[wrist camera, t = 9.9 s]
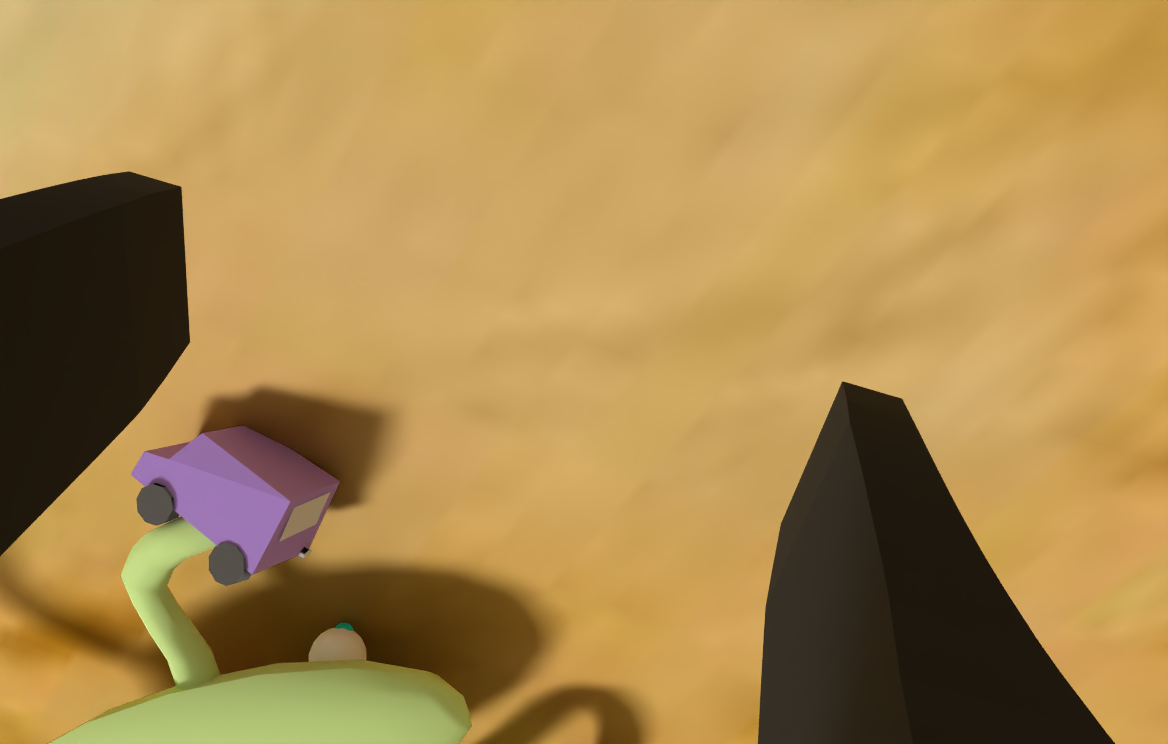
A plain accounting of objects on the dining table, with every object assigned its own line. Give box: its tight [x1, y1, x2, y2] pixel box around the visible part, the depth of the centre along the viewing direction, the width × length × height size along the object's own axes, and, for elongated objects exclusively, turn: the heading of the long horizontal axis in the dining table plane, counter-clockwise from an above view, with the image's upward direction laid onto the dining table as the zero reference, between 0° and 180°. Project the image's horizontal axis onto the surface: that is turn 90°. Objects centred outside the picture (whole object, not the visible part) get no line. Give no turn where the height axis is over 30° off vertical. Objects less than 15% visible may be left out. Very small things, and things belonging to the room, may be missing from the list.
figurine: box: [48, 426, 472, 744], centre depth 30 cm, size 18×27×6 cm
